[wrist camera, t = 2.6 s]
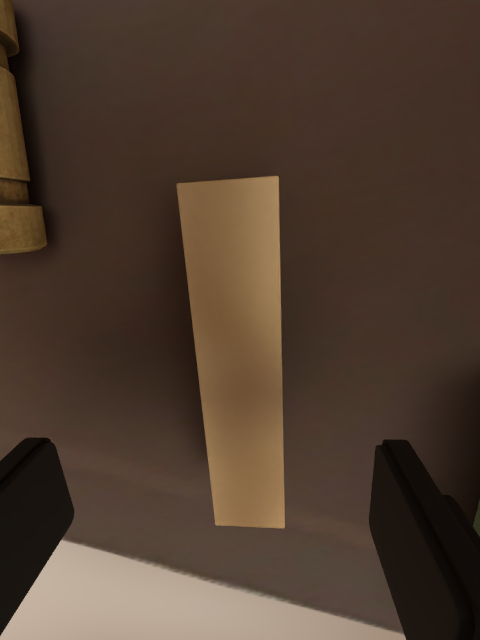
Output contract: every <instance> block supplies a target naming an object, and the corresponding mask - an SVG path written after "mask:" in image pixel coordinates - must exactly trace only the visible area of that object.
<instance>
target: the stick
mask: <svg viewBox="0 0 480 640" xmlns="http://www.w3.org/2000/svg"><path fill="white" fill-rule="evenodd" d="M176 186H177V195H178V203H179V212H180V221H181V230H182V238H183V247H184V256H185V264H186V273H187V282H188V290H189V299H190V308H191V316H192V325H193V334H194V343H195V351H196V360H197V369H198V377H199V386H200V395H201V403H202V412H203V421H204V429H205V438H206V447H207V456H208V464H209V473H210V482H211V490H212V499H213V508H214V516H215V524H216V525H224V526H245V527H266V528H285V509H284V451H283V394H282V336H281V279H280V221H279V177H278V176H267V177H254V178H240V179H227V180H213V181H200V182H186V183H177V185H176Z"/></svg>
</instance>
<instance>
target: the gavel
mask: <svg viewBox="0 0 480 640" xmlns="http://www.w3.org/2000/svg"><path fill="white" fill-rule="evenodd" d="M18 52H19V45H18V38H17V31H16V24H15V17H14V10H13V3H12V0H0V254H10V253H22V252H30V251H35V250H39V249H41V248H43V247H44V246H46V245H47V240H46V233H45V226H44V219H43V212H42V206H38V205H33V204H30V202H29V195H28V189H27V182H29V181H30V176H29V169H28V163H27V156H26V149H25V143H24V136H23V130H22V123H21V116H20V110H19V103H18V97H17V90H16V83H15V78H14V76H13V75H12V73H10V72H9V66H8V60H7V57H10V56H14V55H16V54H17V53H18Z"/></svg>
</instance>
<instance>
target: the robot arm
mask: <svg viewBox="0 0 480 640" xmlns="http://www.w3.org/2000/svg"><path fill="white" fill-rule="evenodd" d="M73 518H74V508H73V504H72V501H71V497H70V494H69V491H68V487H67V484H66V480H65V477H64V474H63V470H62V467H61V463H60V460H59V457H58V453H57V450H56V447H55V445H54V444H53V443H51V441H50V439H48V438H26V439H24V440H23V441H21V442H20V443H19V444H18V445H17V446H16V447H15V448H14V449H13V450H12V451H11V452H10V453H8V454H7V455H6V456H5V457H4V458H3V459H2V460H1V461H0V635H1V634H2V632H3V630H4V629H5V628H6V626H7V624H8V623H9V621H10V620H11V618H12V616H13V615H14V613H15V612H16V610H17V609H18V607H19V605H20V604H21V602H22V601H23V599H24V598H25V596H26V594H27V593H28V591H29V590H30V588H31V586H32V585H33V583H34V582H35V580H36V579H37V577H38V575H39V574H40V572H41V571H42V569H43V567H44V566H45V564H46V563H47V561H48V560H49V558H50V556H51V555H52V553H53V552H54V550H55V549H56V547H57V545H58V544H59V542H60V541H61V539H62V538H63V536H64V534H65V533H66V531H67V530H68V528H69V527H70V525H71V523H72V521H73ZM369 525H370V530H371V534H372V537H373V540H374V543H375V547H376V550H377V553H378V556H379V559H380V562H381V565H382V568H383V571H384V574H385V577H386V580H387V583H388V586H389V589H390V592H391V595H392V598H393V601H394V604H395V607H396V610H397V613H398V616H399V619H400V622H401V625H402V628H403V631H404V634H405V637H406V640H480V536H479V535H478V533H477V532H476V530H475V529H474V527H473V526H472V524H471V523H470V521H469V520H468V518H467V517H466V515H465V514H464V512H463V511H462V509H461V508H460V506H459V505H458V503H457V502H456V501H455V500H454V498H452V497H451V496H449V495H442V494H441V492H440V491H439V489H438V487H437V486H436V484H435V483H434V481H433V480H432V478H431V476H430V475H429V473H428V472H427V470H426V468H425V467H424V465H423V464H422V462H421V460H420V459H419V457H418V456H417V454H416V453H415V451H414V449H413V448H412V446H411V445H410V443H409V442H408V441H407V440H383V442H382V445H377V446H376V450H375V460H374V471H373V482H372V492H371V503H370V514H369Z"/></svg>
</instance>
